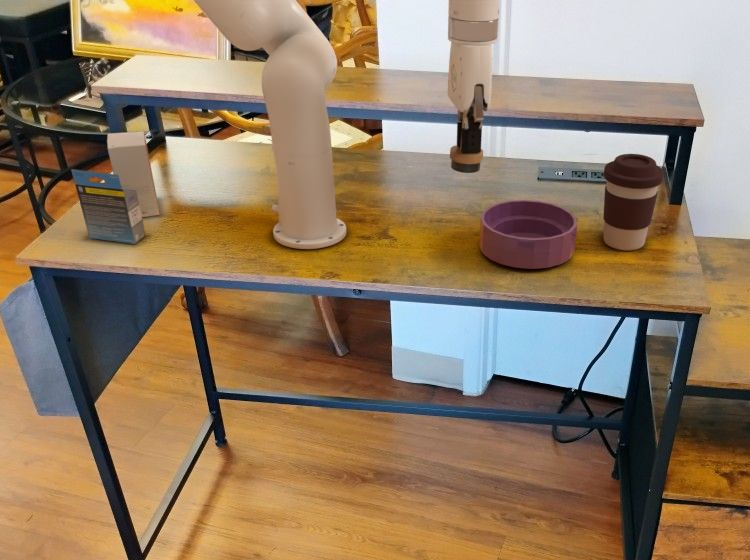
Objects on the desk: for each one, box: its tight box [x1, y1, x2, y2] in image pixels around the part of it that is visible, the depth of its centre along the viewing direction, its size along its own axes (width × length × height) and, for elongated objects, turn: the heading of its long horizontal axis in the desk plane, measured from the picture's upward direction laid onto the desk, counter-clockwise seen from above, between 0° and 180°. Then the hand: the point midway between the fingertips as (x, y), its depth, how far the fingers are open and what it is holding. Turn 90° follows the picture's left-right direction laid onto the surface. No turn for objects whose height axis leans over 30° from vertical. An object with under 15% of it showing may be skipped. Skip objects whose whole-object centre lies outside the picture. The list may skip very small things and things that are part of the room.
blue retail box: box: [70, 168, 146, 245], centre depth 139 cm, size 9×4×12 cm, turn 77°
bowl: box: [478, 199, 578, 270], centre depth 142 cm, size 16×16×6 cm
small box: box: [106, 131, 160, 218], centre depth 149 cm, size 8×6×13 cm
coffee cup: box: [602, 153, 665, 252], centre depth 143 cm, size 10×10×15 cm
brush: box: [449, 106, 484, 174], centre depth 134 cm, size 5×5×11 cm
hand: (468, 148), depth 136 cm, fingers closed on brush
